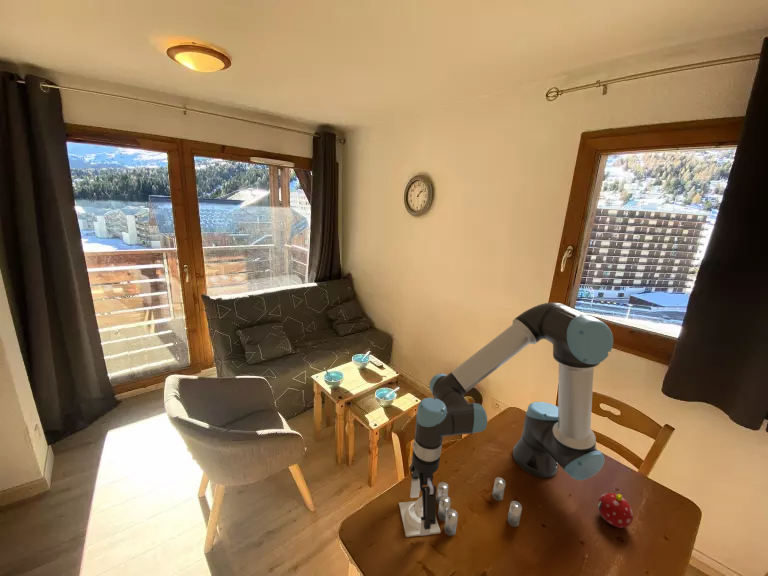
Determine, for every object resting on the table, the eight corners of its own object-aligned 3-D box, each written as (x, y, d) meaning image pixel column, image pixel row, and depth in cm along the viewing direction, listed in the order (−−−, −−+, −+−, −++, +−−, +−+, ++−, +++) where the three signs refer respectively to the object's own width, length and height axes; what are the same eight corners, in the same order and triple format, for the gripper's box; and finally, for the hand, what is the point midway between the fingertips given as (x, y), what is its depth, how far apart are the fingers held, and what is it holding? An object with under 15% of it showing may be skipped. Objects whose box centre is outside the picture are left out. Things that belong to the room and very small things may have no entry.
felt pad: (430, 501, 99) (430, 499, 99) (440, 533, 90) (440, 531, 90) (398, 504, 98) (399, 502, 97) (406, 537, 88) (406, 535, 88)
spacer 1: (444, 496, 101) (446, 481, 100) (447, 505, 98) (450, 490, 97) (434, 497, 101) (436, 482, 99) (438, 506, 98) (440, 491, 96)
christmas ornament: (633, 539, 91) (642, 512, 89) (599, 528, 94) (607, 501, 92) (623, 513, 99) (631, 488, 97) (591, 503, 102) (599, 478, 99)
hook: (452, 517, 88) (434, 510, 86) (423, 537, 92) (405, 531, 90) (445, 490, 95) (429, 482, 92) (419, 509, 99) (402, 502, 96)
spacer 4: (499, 491, 104) (502, 476, 103) (504, 500, 101) (507, 485, 100) (490, 492, 104) (493, 477, 102) (495, 501, 101) (498, 486, 99)
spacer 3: (453, 524, 92) (455, 508, 91) (457, 535, 89) (459, 519, 88) (442, 525, 92) (445, 509, 90) (446, 536, 89) (448, 520, 87)
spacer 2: (446, 510, 97) (448, 494, 95) (449, 520, 94) (452, 504, 92) (436, 511, 96) (438, 495, 95) (439, 521, 93) (441, 505, 92)
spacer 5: (514, 515, 96) (517, 500, 95) (521, 526, 93) (524, 510, 92) (505, 517, 96) (508, 501, 94) (511, 527, 93) (514, 511, 91)
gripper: (404, 424, 98) (398, 481, 104) (425, 490, 76) (416, 558, 82) (427, 423, 99) (421, 479, 105) (455, 487, 77) (444, 554, 83)
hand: (419, 514), depth 93 cm, fingers open, 11 cm apart
